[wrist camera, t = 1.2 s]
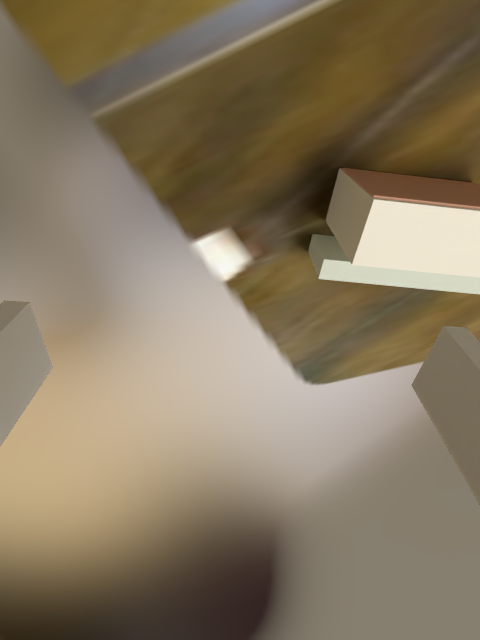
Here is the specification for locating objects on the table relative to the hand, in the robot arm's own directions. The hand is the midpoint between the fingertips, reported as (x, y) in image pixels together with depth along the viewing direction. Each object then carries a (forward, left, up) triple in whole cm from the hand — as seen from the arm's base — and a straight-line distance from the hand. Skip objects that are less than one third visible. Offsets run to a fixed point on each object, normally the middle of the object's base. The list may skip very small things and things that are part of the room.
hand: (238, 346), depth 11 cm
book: (-8, +13, -25) cm, 29 cm away
